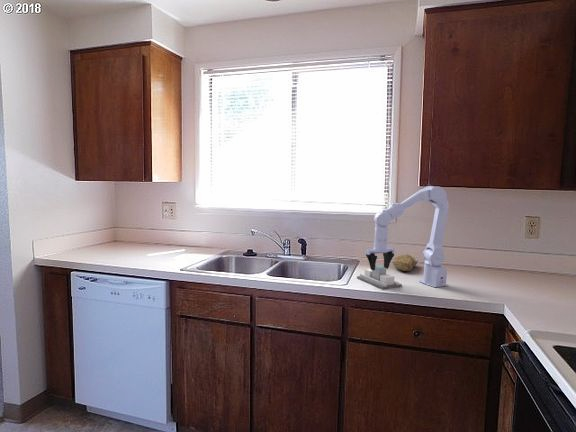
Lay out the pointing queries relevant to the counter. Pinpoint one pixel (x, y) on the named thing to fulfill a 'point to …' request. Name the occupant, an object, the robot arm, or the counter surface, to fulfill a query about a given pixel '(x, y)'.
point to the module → (378, 272)
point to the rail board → (384, 282)
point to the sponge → (404, 262)
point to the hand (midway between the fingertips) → (379, 269)
